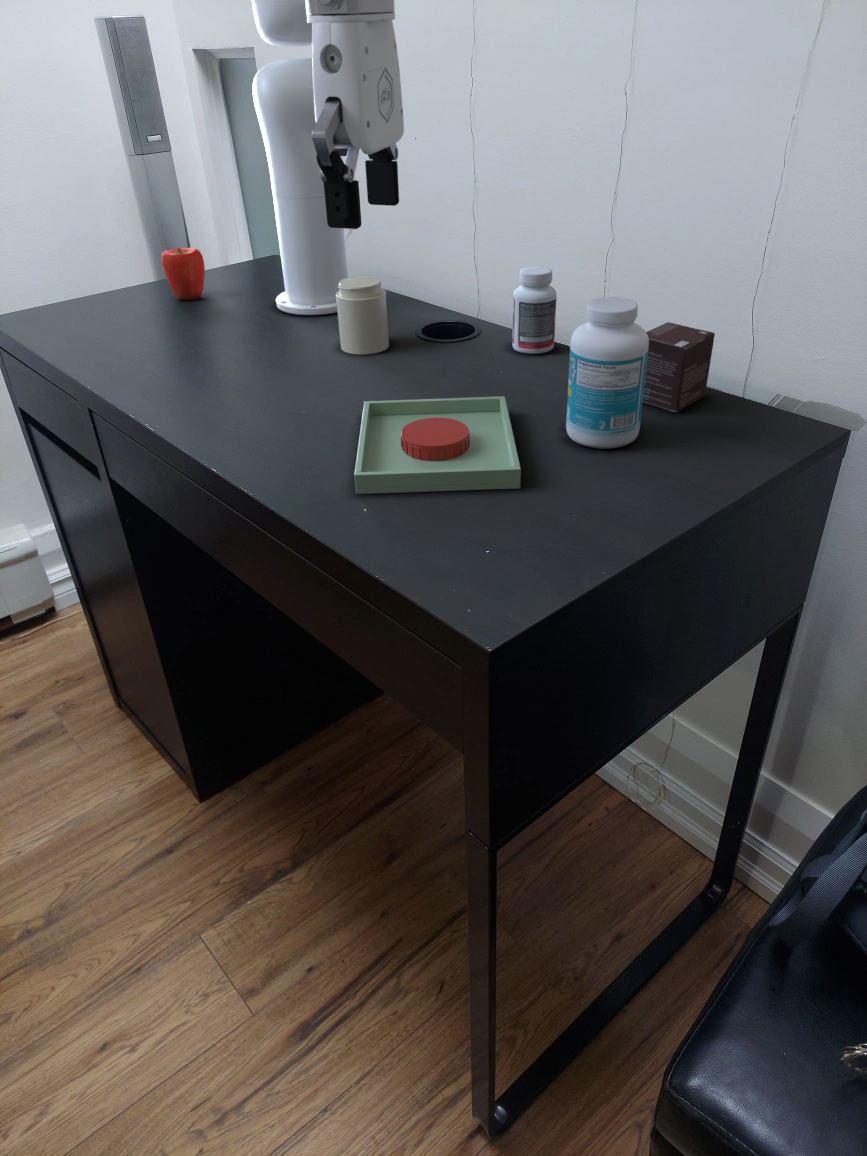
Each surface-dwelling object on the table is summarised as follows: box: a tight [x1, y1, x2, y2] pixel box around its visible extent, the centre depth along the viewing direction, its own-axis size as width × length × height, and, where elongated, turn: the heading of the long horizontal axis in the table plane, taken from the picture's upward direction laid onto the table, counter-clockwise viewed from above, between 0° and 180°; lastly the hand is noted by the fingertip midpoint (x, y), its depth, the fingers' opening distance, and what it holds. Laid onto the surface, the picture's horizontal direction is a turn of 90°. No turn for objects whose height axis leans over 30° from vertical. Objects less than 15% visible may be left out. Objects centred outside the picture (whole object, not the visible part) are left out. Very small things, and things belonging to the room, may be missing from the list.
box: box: [642, 321, 716, 413], centre depth 92 cm, size 6×6×7 cm
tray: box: [353, 395, 522, 495], centre depth 84 cm, size 17×15×2 cm
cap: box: [401, 418, 470, 461], centre depth 84 cm, size 7×7×2 cm
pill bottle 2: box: [565, 296, 649, 450], centre depth 83 cm, size 8×7×14 cm
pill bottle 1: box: [511, 265, 558, 355], centre depth 106 cm, size 5×5×10 cm
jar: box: [336, 275, 390, 356], centre depth 109 cm, size 6×6×8 cm
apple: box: [161, 247, 206, 301], centre depth 131 cm, size 6×6×8 cm
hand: (365, 215), depth 81 cm, fingers open, 9 cm apart
